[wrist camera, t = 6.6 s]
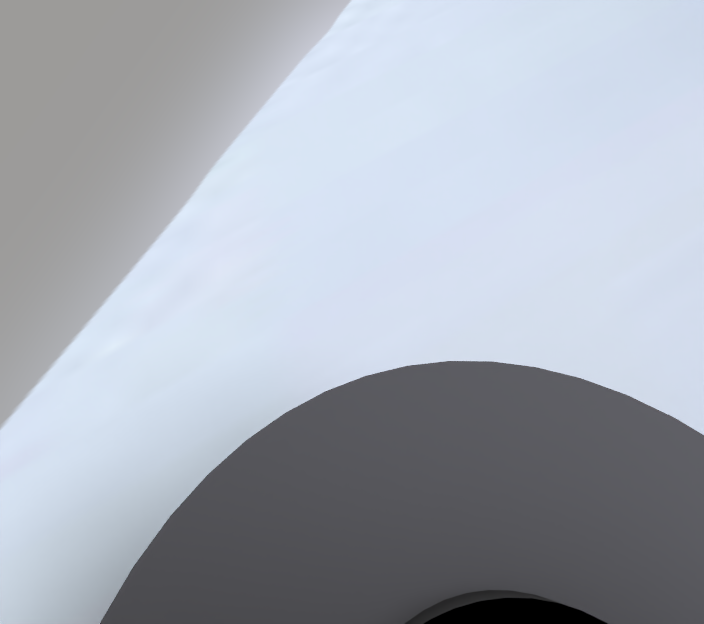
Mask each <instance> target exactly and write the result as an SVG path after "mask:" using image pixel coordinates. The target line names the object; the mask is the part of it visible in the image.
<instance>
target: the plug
mask: <svg viewBox="0 0 704 624" xmlns="http://www.w3.org/2000/svg"><path fill="white" fill-rule="evenodd" d="M100 624H704V435H702V434H701V433H699V432H697V431H696V430H694V429H692V428H691V427H689V426H687V425H686V424H684V423H682V422H680V421H679V420H677V419H675V418H674V417H671V416H669V415H667V414H665V413H663V412H661V411H659V410H657V409H655V408H653V407H651V406H648V405H646V404H644V403H642V402H640V401H638V400H636V399H634V398H632V397H630V396H628V395H625V394H622V393H620V392H617V391H614V390H611V389H608V388H606V387H603V386H600V385H597V384H595V383H592V382H589V381H586V380H584V379H581V378H577V377H573V376H569V375H565V374H561V373H557V372H553V371H548V370H544V369H540V368H536V367H529V366H522V365H514V364H506V363H498V362H477V361H447V362H438V363H429V364H420V365H411V366H405V367H401V368H397V369H393V370H389V371H385V372H380V373H376V374H372V375H368V376H365V377H362V378H360V379H357V380H354V381H352V382H349V383H346V384H344V385H341V386H339V387H336V388H333V389H331V390H328V391H326V392H324V393H322V394H320V395H318V396H316V397H314V398H312V399H311V400H309V401H307V402H305V403H303V404H301V405H299V406H298V407H296V408H294V409H292V410H290V411H288V412H286V413H285V414H283V415H282V416H280V417H279V418H278V419H276V420H275V421H273V422H272V423H270V424H269V425H268V426H266V427H265V428H263V429H262V430H261V431H259V432H258V433H256V434H255V435H253V436H252V437H251V438H249V439H248V440H246V441H245V442H244V443H243V444H242V445H241V446H240V447H238V448H237V449H236V450H235V451H234V452H233V453H232V454H231V455H229V456H228V457H227V458H226V459H225V460H224V461H223V462H222V463H221V464H219V465H218V466H217V467H216V468H215V469H214V470H213V471H212V472H210V473H209V474H208V475H207V476H206V477H205V479H204V480H203V481H202V482H201V483H200V484H199V485H198V486H197V487H196V489H195V490H194V491H193V492H192V493H191V494H190V495H189V496H188V497H187V499H186V500H185V501H184V502H183V503H182V504H181V505H180V506H179V507H178V508H177V510H176V511H175V512H174V513H173V514H172V515H171V516H170V518H169V519H168V520H167V522H166V523H165V524H164V526H163V527H162V529H161V530H160V531H159V533H158V534H157V535H156V537H155V538H154V539H153V541H152V542H151V544H150V545H149V546H148V548H147V549H146V550H145V552H144V553H143V555H142V556H141V557H140V559H139V560H138V561H137V563H136V564H135V566H134V567H133V568H132V570H131V572H130V574H129V575H128V577H127V579H126V580H125V582H124V584H123V585H122V587H121V589H120V590H119V592H118V594H117V596H116V597H115V599H114V601H113V602H112V604H111V606H110V607H109V609H108V611H107V612H106V614H105V616H104V618H103V619H102V621H101V623H100Z"/></svg>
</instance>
